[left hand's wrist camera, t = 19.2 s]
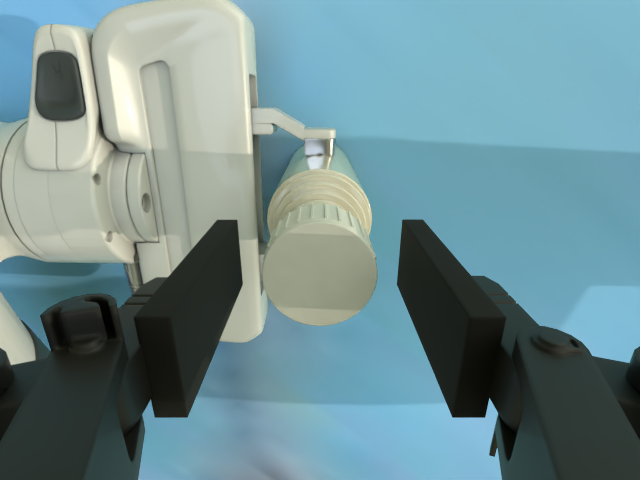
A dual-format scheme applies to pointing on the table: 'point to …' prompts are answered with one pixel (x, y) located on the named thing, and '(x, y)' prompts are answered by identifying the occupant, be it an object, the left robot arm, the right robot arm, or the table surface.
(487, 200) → the table surface
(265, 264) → the cap
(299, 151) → the bottle
